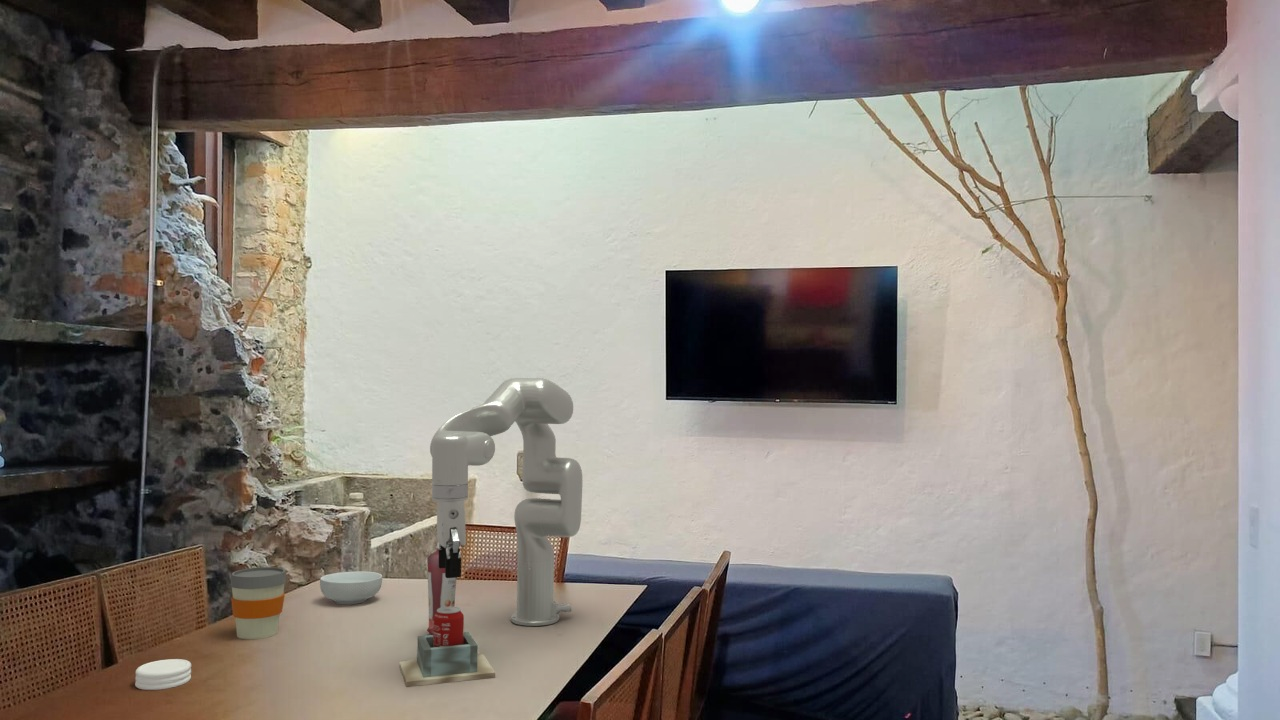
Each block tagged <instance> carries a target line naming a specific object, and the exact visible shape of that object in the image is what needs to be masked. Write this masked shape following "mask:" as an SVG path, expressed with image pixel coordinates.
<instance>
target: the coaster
mask: <svg viewBox="0 0 1280 720" xmlns="http://www.w3.org/2000/svg"><path fill="white" fill-rule="evenodd" d="M191 667H192V663H191V661H189V660H187V659H183V658H182V659H180V658H173V659H172V658H170V659H159V660H155V661H151V662H146V663H144V664H142V665H139V666H138V667H137V669H136V670H135V682H134V685H135V687H136V688H138V689H140V690H143V691H145V690H146V691H158V690H160V691H161V690H167V689H173V688H176V687H179V686H182V685H185V684H187V683H188V682H189V681H190V680H191V678H192V676H191V673H192V668H191Z"/></svg>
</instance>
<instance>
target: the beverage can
mask: <svg viewBox="0 0 1280 720" xmlns="http://www.w3.org/2000/svg"><path fill="white" fill-rule="evenodd" d="M461 610H462V609H461V607H458V606H455V607H441V608H438V609H437V613H436V614H435V615H434V622H433V647H444V646H455V645H463V633H464V630H465V627H464V625H465V624H464V622H465V620H464V618H465V615H464V614H463V612H462V611H461Z"/></svg>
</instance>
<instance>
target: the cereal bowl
mask: <svg viewBox="0 0 1280 720" xmlns="http://www.w3.org/2000/svg"><path fill="white" fill-rule="evenodd" d="M382 584H383V575H382V574H381V573H379V572H375V571H374V572H373V571H363V570H362V571H344V572H336V573H335V572H334V573H329V574H326V575H322V576H321V577H320V579H319V588H320V592H321V593H322V595H323V596H324V597H326V598H327V599H329V600H333V602H334V601H335V603H336V604H339V605H358V604H361V603H364V602H366V600H367V599H371V598H373V597H374V596H375V595H377V593H379V591H380V590H381V588H382Z"/></svg>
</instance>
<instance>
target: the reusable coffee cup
mask: <svg viewBox="0 0 1280 720" xmlns="http://www.w3.org/2000/svg"><path fill="white" fill-rule="evenodd" d="M286 574H287V573H286V569H285V568H282V567H274V566H273V567H271V566H266V567H265V566H264V567H262V566H261V567H250V568H244V569H239V570H238V569H237V570H236V571H233V572H232V573H231V578H230V587H231V590H232V591H231V592H232V596H231V597H230V599H231V600H230V601H231V609H232V610H231V611H232V616H233V617H234V618H235V619H234V620H235V628H236V637H237V638H238V639H242V640H258V639H266V638H269V637H272V636H276V635H277V634H278V627H279V622H280V616H281V615H280V614H282V613H283V607H284V601H285V594H286V593H285V591H284V590H285V584H286V583H287V576H286Z"/></svg>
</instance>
